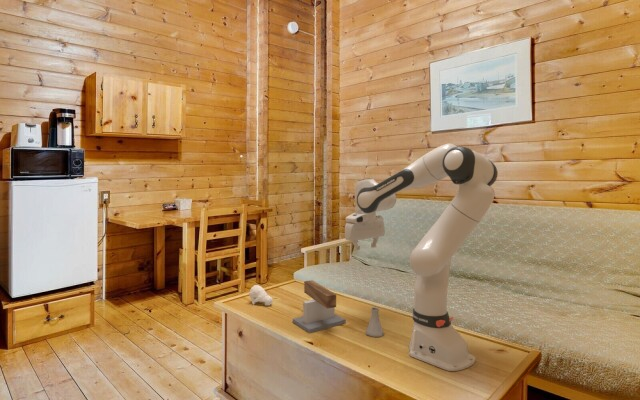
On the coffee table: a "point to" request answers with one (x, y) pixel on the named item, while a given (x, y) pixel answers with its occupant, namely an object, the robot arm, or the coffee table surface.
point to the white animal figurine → (259, 295)
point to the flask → (374, 324)
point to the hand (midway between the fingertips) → (365, 248)
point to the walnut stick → (320, 294)
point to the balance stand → (317, 317)
